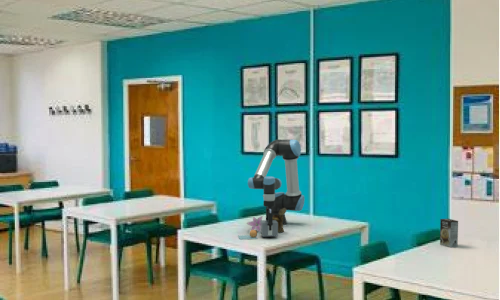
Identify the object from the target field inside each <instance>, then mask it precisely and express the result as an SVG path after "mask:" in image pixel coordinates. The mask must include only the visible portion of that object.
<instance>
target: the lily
mask: <svg viewBox="0 0 500 300" xmlns="http://www.w3.org/2000/svg"><path fill="white" fill-rule="evenodd" d="M261 220H263V215H262V216H259V217H258V218H256V217H254V216H253V217H252V220H250V221H248V222H247V223H246V224H247V225H248V226H250V231H251V230H255V231H256V232H259V233H261Z"/></svg>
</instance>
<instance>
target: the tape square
mask: <svg viewBox="0 0 500 300" xmlns="http://www.w3.org/2000/svg"><path fill="white" fill-rule="evenodd" d="M237 237H238V239H239V240H258V237H257V236H256V237H251V236H250V234H249V235H245V234H244V235H243V234H242V235H241V234H240V235H238V236H237Z"/></svg>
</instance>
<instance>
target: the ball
mask: <svg viewBox="0 0 500 300" xmlns="http://www.w3.org/2000/svg"><path fill="white" fill-rule="evenodd" d="M249 235H250V236H251V237H256V236H257V235H258V231H257V230H256V229H254V230H251V229H250V231H249Z"/></svg>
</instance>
